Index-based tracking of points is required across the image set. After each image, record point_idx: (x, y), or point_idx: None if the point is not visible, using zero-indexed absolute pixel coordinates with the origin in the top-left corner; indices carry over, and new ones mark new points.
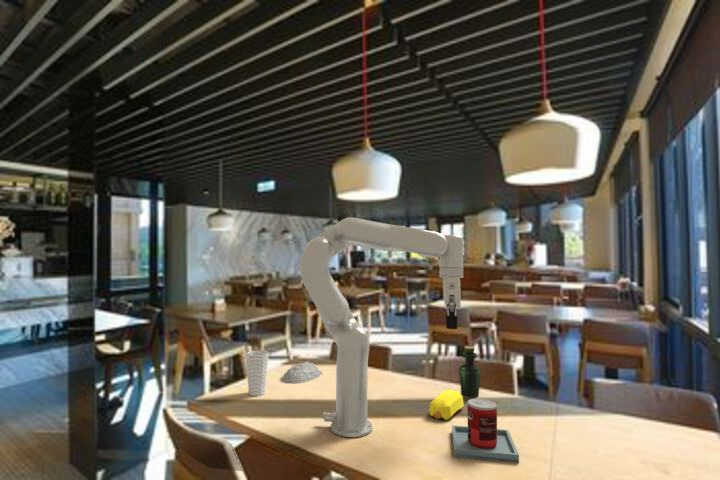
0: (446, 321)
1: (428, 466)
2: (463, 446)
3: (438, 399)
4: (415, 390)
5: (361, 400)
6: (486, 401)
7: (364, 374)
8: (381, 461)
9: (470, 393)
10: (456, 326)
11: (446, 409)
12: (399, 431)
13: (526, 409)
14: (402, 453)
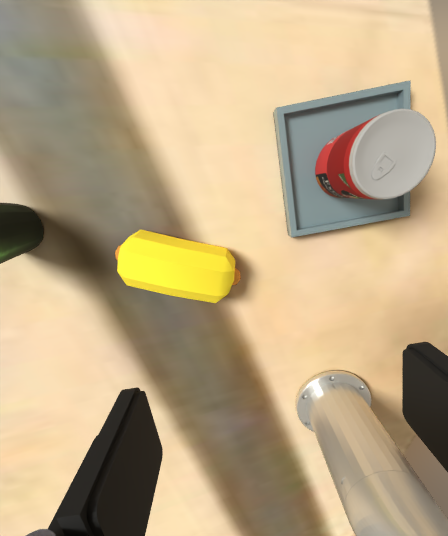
0: (157, 472)
1: (443, 251)
2: (367, 202)
3: (217, 288)
4: (64, 355)
5: (382, 430)
6: (366, 143)
7: (411, 485)
8: (439, 323)
9: (36, 224)
10: (441, 356)
11: (230, 261)
12: (315, 327)
13: (58, 62)
14: (404, 301)
